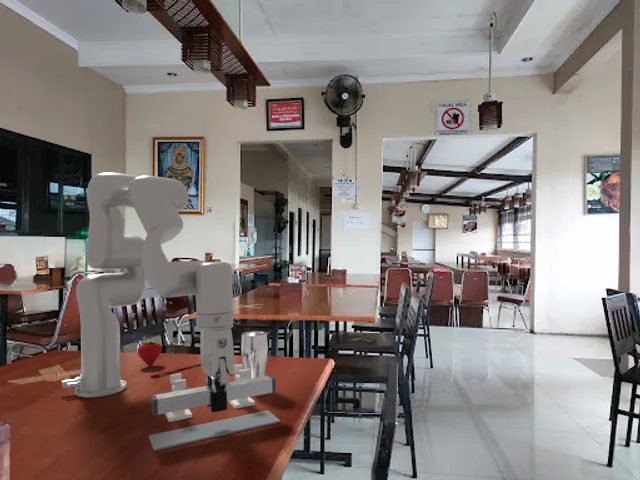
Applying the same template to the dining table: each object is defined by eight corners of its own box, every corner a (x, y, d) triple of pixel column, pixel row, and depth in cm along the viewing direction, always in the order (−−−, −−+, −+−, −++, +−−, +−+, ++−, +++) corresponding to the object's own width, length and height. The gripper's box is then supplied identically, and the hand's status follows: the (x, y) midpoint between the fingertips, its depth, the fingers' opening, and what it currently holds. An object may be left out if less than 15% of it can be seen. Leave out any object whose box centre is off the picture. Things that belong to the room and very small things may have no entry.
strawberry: (135, 366, 143) (134, 335, 144) (158, 362, 148) (157, 332, 148) (141, 370, 139) (140, 338, 139) (164, 365, 144) (164, 335, 144)
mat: (153, 451, 83) (153, 449, 83) (148, 437, 89) (148, 435, 89) (280, 422, 96) (280, 420, 96) (268, 411, 102) (268, 410, 102)
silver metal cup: (263, 394, 114) (262, 336, 114) (238, 393, 115) (237, 336, 115) (271, 386, 121) (270, 331, 121) (247, 385, 122) (246, 330, 122)
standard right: (235, 409, 104) (234, 372, 104) (227, 401, 109) (227, 366, 109) (255, 405, 106) (254, 368, 106) (247, 398, 112) (246, 363, 112)
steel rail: (153, 415, 85) (153, 400, 85) (151, 410, 88) (151, 395, 88) (275, 391, 98) (275, 378, 98) (270, 388, 100) (270, 375, 100)
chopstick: (218, 362, 149) (218, 359, 149) (153, 380, 130) (153, 377, 130) (214, 361, 150) (214, 358, 150) (150, 379, 131) (150, 375, 131)
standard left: (169, 422, 97) (168, 382, 97) (164, 413, 102) (164, 375, 102) (192, 418, 99) (191, 378, 99) (186, 409, 104) (186, 372, 104)
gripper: (244, 324, 88) (246, 417, 87) (221, 314, 102) (222, 393, 102) (207, 328, 84) (209, 425, 84) (188, 317, 98) (189, 399, 98)
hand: (216, 407), depth 93 cm, fingers closed on steel rail, 3 cm apart
